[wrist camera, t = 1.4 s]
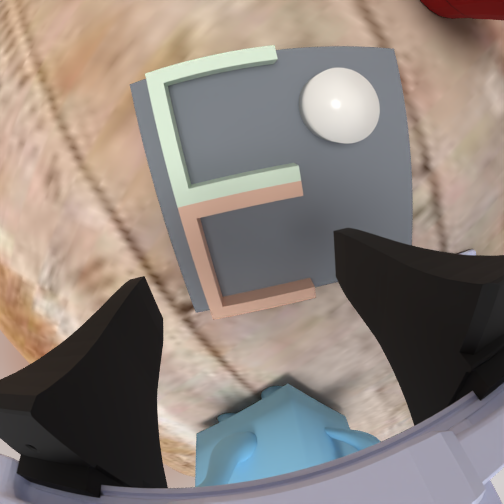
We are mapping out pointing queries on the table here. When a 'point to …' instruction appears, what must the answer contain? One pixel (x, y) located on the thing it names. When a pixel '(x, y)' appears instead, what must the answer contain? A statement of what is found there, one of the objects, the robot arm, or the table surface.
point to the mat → (280, 153)
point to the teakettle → (274, 439)
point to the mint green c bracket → (171, 139)
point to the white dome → (339, 106)
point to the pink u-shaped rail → (204, 264)
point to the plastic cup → (467, 8)
